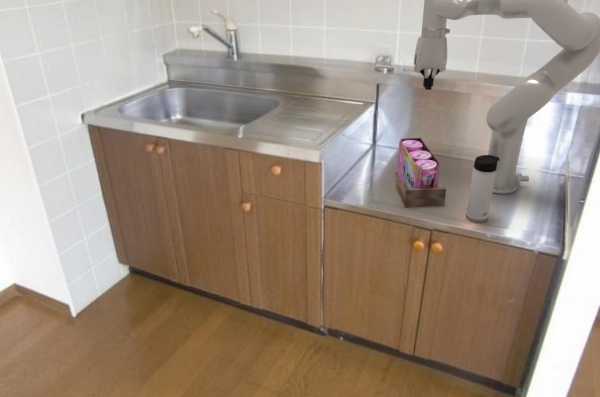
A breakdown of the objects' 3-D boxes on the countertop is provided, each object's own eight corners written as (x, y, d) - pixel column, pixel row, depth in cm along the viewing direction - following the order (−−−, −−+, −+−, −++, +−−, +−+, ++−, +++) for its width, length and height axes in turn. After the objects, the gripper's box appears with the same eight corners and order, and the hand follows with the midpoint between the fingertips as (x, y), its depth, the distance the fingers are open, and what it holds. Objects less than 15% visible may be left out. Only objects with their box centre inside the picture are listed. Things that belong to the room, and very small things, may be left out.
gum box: (438, 204, 158) (442, 166, 151) (413, 206, 157) (417, 167, 151) (417, 172, 179) (421, 137, 172) (396, 173, 178) (398, 138, 172)
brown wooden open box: (432, 185, 169) (433, 169, 166) (443, 205, 157) (446, 188, 154) (396, 186, 169) (397, 171, 166) (405, 207, 157) (406, 190, 154)
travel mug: (489, 223, 147) (501, 162, 137) (466, 222, 148) (476, 161, 138) (487, 213, 152) (498, 153, 143) (464, 211, 153) (474, 152, 144)
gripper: (452, 30, 164) (446, 84, 173) (407, 31, 164) (403, 86, 172) (459, 34, 157) (452, 91, 166) (413, 36, 157) (408, 92, 166)
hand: (427, 88), depth 169 cm, fingers closed
